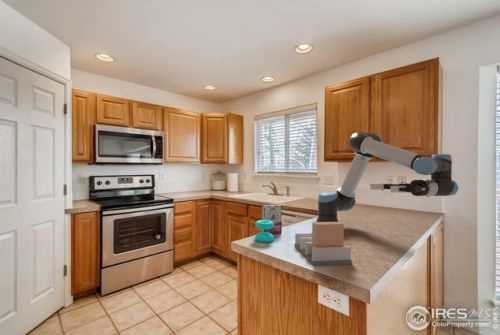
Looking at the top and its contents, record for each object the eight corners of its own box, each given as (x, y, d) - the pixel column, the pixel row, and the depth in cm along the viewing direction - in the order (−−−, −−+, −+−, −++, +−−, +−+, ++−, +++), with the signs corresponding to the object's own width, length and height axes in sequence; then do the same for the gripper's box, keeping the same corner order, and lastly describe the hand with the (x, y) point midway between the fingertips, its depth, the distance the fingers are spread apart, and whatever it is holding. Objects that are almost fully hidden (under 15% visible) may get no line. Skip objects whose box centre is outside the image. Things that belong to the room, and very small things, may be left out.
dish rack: (294, 246, 117) (294, 232, 117) (325, 245, 119) (325, 232, 119) (313, 265, 93) (314, 249, 93) (351, 264, 95) (352, 248, 95)
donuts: (266, 224, 119) (251, 221, 125) (266, 244, 119) (251, 240, 125) (277, 221, 127) (262, 218, 133) (277, 239, 127) (262, 236, 133)
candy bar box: (278, 231, 145) (278, 204, 145) (281, 233, 140) (282, 205, 140) (261, 232, 142) (261, 204, 142) (263, 234, 137) (264, 206, 137)
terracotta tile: (311, 255, 100) (312, 222, 100) (338, 254, 102) (338, 221, 102) (315, 258, 96) (316, 224, 96) (343, 257, 98) (343, 223, 98)
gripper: (448, 199, 97) (401, 199, 94) (401, 193, 122) (363, 193, 119) (448, 181, 97) (401, 180, 94) (401, 178, 122) (363, 178, 119)
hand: (380, 187), depth 107 cm, fingers open, 13 cm apart
